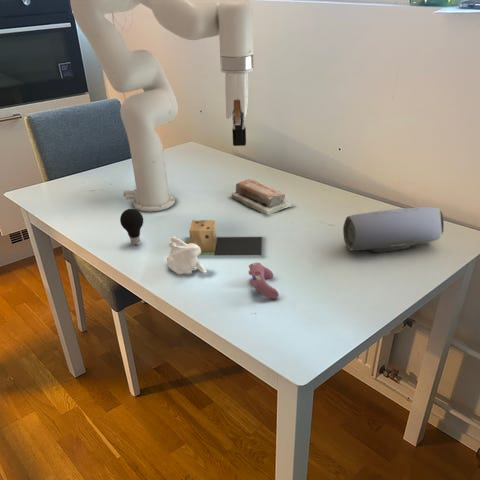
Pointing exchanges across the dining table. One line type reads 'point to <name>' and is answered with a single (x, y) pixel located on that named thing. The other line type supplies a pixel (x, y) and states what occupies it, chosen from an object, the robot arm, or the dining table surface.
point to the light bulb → (132, 224)
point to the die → (204, 234)
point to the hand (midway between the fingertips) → (239, 144)
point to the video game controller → (262, 280)
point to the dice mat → (235, 246)
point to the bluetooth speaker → (393, 228)
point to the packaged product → (260, 197)
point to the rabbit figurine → (184, 257)
